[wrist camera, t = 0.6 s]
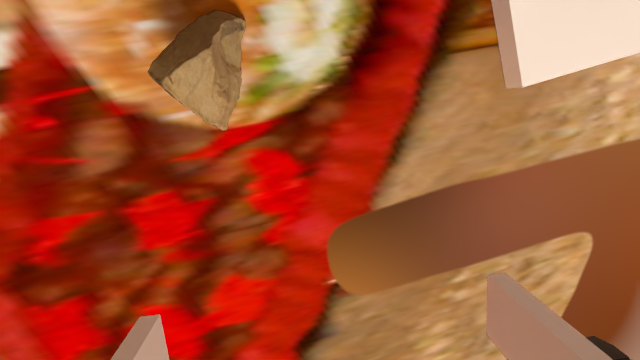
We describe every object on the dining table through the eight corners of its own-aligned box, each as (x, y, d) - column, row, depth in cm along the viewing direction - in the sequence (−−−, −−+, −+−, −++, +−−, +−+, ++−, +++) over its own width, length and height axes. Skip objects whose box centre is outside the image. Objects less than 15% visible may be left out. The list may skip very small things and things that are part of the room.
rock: (206, -28, 34) (125, 47, 33) (246, -12, 28) (150, 80, 28) (270, 59, 42) (206, 121, 41) (311, 86, 36) (237, 157, 36)
